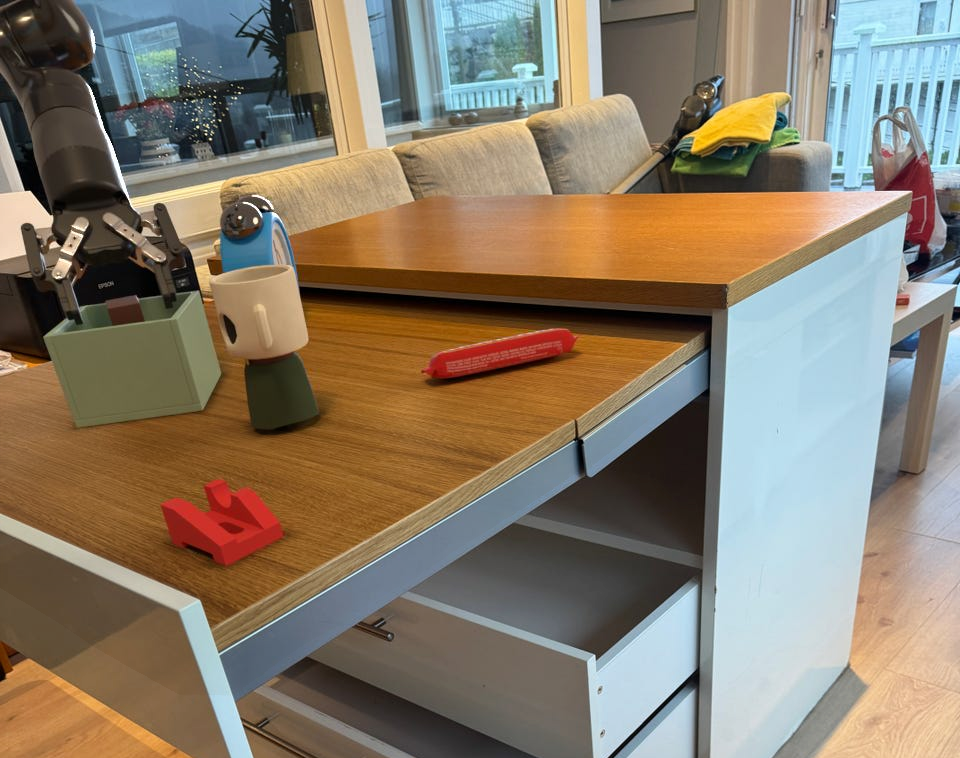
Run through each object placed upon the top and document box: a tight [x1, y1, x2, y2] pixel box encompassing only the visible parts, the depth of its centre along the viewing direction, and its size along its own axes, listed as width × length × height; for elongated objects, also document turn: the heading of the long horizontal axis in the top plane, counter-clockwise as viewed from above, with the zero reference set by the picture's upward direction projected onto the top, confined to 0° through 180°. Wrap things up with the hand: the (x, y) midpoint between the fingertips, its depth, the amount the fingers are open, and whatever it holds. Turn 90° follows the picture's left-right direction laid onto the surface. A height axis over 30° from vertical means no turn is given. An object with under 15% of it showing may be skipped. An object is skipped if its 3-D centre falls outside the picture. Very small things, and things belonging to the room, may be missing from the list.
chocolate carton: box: [104, 294, 145, 326], centre depth 90 cm, size 4×3×9 cm
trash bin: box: [43, 290, 222, 429], centre depth 90 cm, size 12×12×9 cm
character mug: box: [208, 265, 320, 430], centre depth 78 cm, size 11×7×13 cm, turn 13°
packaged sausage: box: [420, 328, 581, 380], centre depth 88 cm, size 16×4×3 cm, turn 109°
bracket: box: [159, 478, 284, 567], centre depth 62 cm, size 6×5×3 cm
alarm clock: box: [219, 194, 300, 291], centre depth 108 cm, size 13×6×15 cm, turn 0°
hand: (124, 311), depth 87 cm, fingers open, 8 cm apart
